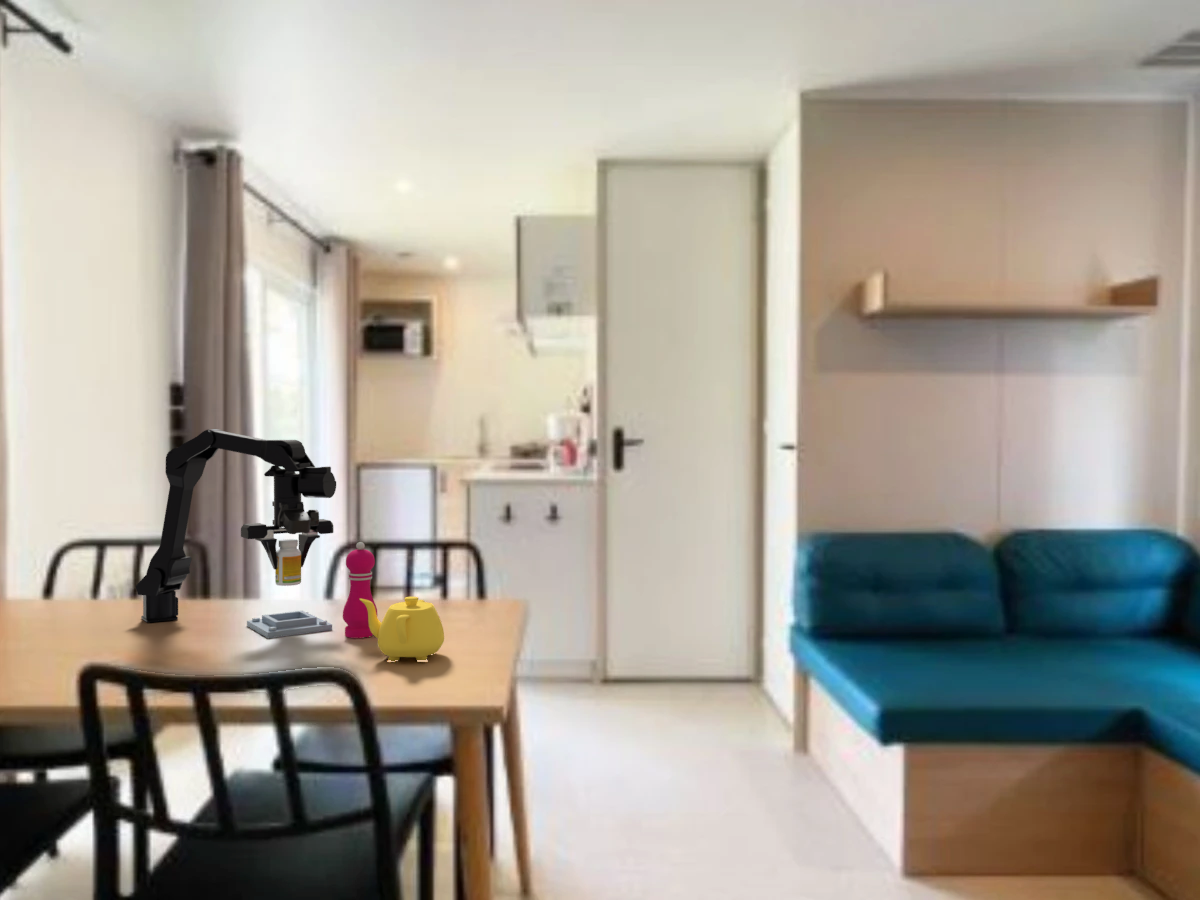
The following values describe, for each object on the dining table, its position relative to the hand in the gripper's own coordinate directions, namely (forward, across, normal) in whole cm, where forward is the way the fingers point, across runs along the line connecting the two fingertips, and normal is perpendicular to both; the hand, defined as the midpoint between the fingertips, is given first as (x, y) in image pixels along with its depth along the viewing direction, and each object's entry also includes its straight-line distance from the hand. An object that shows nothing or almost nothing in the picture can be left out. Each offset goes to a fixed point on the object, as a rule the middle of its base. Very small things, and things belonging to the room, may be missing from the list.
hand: (288, 568), depth 208 cm
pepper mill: (+14, +10, -15) cm, 23 cm away
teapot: (+14, +9, -37) cm, 40 cm away
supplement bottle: (+4, 0, 0) cm, 4 cm away
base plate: (+13, 0, 0) cm, 13 cm away
